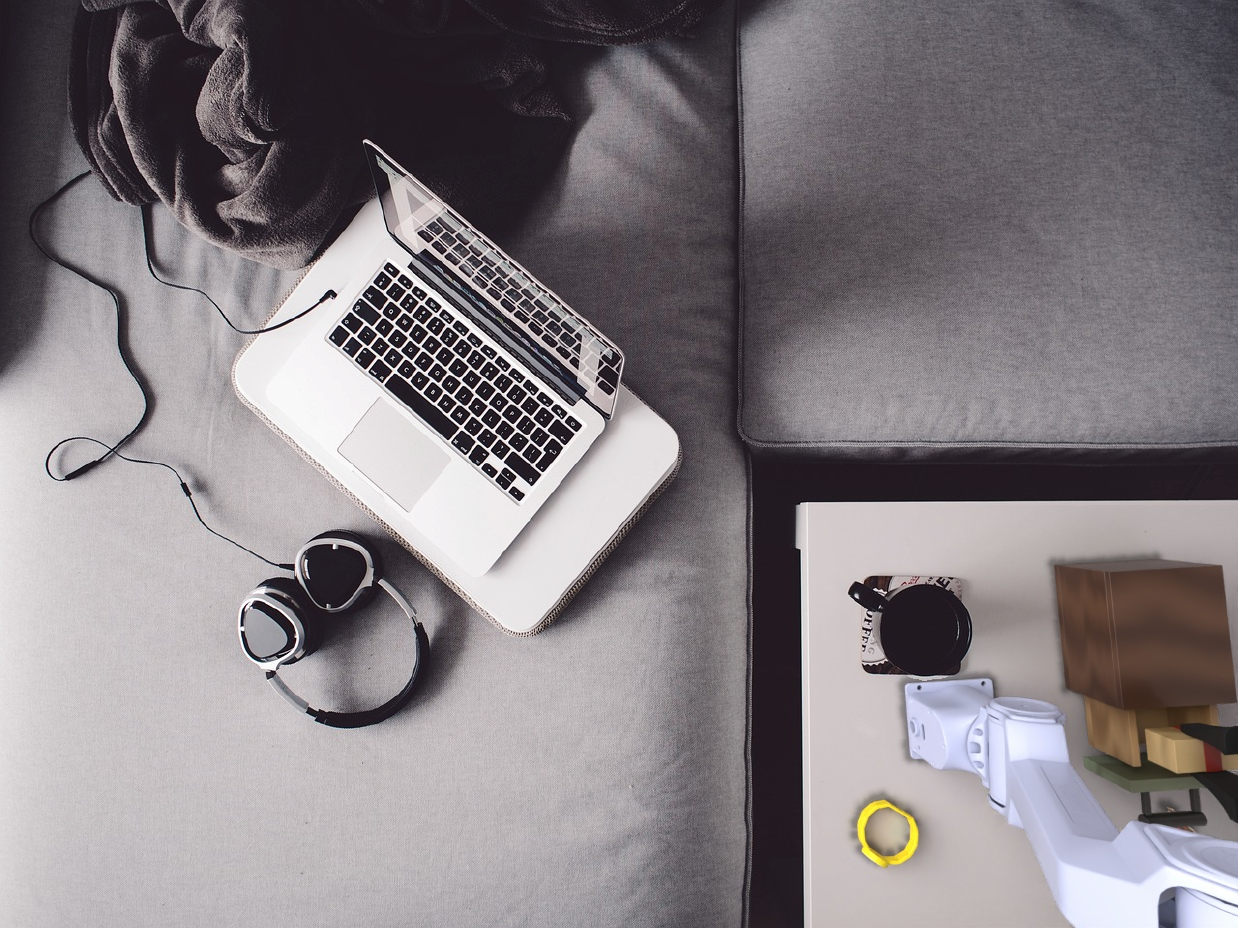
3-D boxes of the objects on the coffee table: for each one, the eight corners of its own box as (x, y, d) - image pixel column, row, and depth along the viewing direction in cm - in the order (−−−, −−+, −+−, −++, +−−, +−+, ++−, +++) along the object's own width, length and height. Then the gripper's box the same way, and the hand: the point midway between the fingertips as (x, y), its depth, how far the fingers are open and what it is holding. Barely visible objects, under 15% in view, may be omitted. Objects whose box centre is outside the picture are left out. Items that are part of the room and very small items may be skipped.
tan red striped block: (1147, 760, 67) (1177, 774, 64) (1143, 727, 67) (1174, 740, 64) (1217, 755, 67) (1252, 769, 64) (1214, 723, 67) (1248, 735, 64)
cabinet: (1167, 681, 76) (1237, 703, 67) (1065, 688, 75) (1123, 710, 67) (1155, 558, 76) (1222, 565, 68) (1053, 564, 76) (1109, 572, 68)
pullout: (1181, 801, 74) (1238, 831, 67) (1087, 808, 74) (1135, 838, 67) (1164, 644, 75) (1219, 657, 68) (1072, 650, 75) (1118, 664, 68)
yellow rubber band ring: (871, 787, 75) (843, 836, 74) (881, 795, 72) (851, 846, 71) (919, 821, 74) (891, 870, 73) (931, 830, 72) (902, 881, 71)
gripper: (1408, 904, 52) (1242, 822, 66) (1383, 708, 53) (1225, 667, 66) (1316, 910, 52) (1169, 827, 65) (1293, 714, 53) (1153, 672, 66)
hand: (1192, 746), depth 66 cm, fingers closed on tan red striped block, 3 cm apart
